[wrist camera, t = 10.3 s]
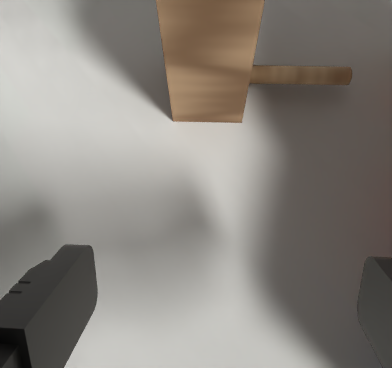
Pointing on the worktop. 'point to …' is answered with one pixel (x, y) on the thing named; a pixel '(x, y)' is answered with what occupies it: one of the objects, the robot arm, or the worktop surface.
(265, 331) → the worktop surface
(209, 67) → the wooden mallet
